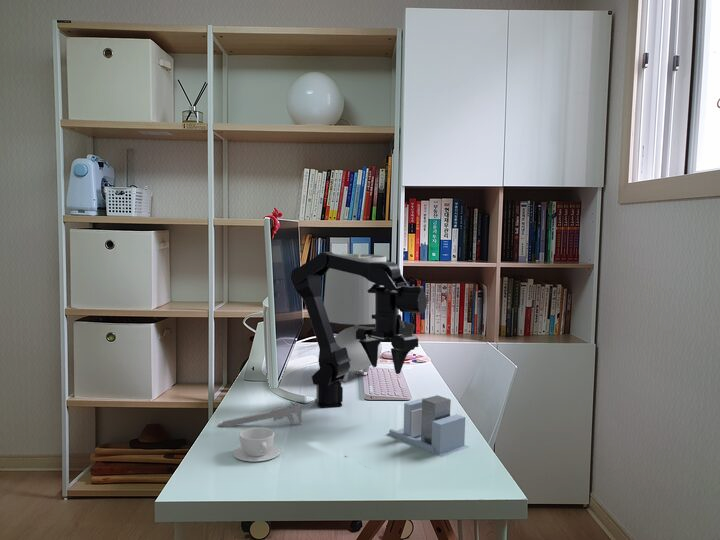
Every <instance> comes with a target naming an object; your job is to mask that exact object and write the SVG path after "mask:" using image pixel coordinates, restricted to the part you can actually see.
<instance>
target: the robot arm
mask: <svg viewBox="0 0 720 540" xmlns="http://www.w3.org/2000/svg"><path fill="white" fill-rule="evenodd" d="M337 254H338V253H334V252H332V251H323V252H320V253H318V254H317V255H316V256H314V257H313V258H311V259H310V260H308V261H307V262H305V263H303V264H302V265H300V266H297V267H294V268H293V269H292V271H291V273H290V276H289V278H290V281H291V284H292V287H293V288H294V291H295V292H296V293H297V294H298V295H299V297H301V299H302V300H303V302H304V305H305V308H306V310H307V314H308V316H309V320H310V324H311V326H312V329H313V332H314V335H315V338H316V342H317V345H318V350H319V352H318V353H319V354H318V358H317V359H318V360H317V361H318V367H319V369H318V370H317V371H316V372H315V373H314V374H313V375H312V376H311V380H312V384H313V385H316V392H315V393H316V394H315V395H316V397H315V399H314V401H315V404H316V405H317V406H318V408H332V407H334V408H335V407H342V406H343V396H344V395H343V390H344V389H343V386H342V382H341V381H342V380H343V379H344V377H345V374H346V373H347V372H348V371H349V368H350V363H349V362H350V361H351V360H350V358H349V356H348V353H347V349H346V347H344V348H340V347H339V345H338V344H337V343H336V340H335V335H334V332H333V328H332V326H331V322H329V319H328V316H327V313H326V310H325V307H324V300H323V298H322V294H321V293H322V292H321V291H322V285H323V284H322V283H323V282H322V277H323V276H325V275H326V272H327V271H328V270H329V268H332V269H336V270H340V271H344V272H348V273H352V274H356V275H360V276H363V277H365V278H366V279H367V280H369V281H371V282H373V283H375V284H373V286H372V287H371V288H370V289H369V290H368V291H367V292H368V293H375V314H373V315H372V319H375V324H374V326H365V328H358V330H357V331H356V339H359V343H361V345H362V346H363V348H364V350H365V352H366V354H367V356H368V358H369V360H370V362H371V364H372V365H371V366H372V368H376V367H377V366H378V360H379V359H378V346H379V344H380V342H381V343H382V341H383V342H388V343H390V344H391V346H392V347H391V348H390V351H391V357H392V362H393V367H394V371H395V374H396V375H399V374H401V371H402V368H403V366H404V363H405V361H406V358H407V356H408V355H409V353H411V351H413V350H415V349H416V348H418V347H419V338H418V337H417V335H413V334H414V330H415V327H416V325H415V324H413V323H410V322H407V321H404V320H402V315H401V314H398V310H399V312H401V313H409V314H423V315H424V313H425V312H426V310H427V306H428V298H427V295H426V292H425V291H424V286H423V285H418V286H410V285H409V283H408V282H407V281H406V279H405V277H404V276H403V275H402V273H401V269H400V266H399V264H397V263H396V262H394V261H386V262H368V261H364V260H359V259H355V258H351V257H346V256H342V255H337ZM380 285H381V286H384V287H381V286H380ZM377 359H378V360H377ZM349 372H350V371H349Z"/></svg>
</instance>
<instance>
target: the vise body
mask: <svg viewBox="0 0 720 540" xmlns="http://www.w3.org/2000/svg"><path fill="white" fill-rule="evenodd" d="M388 431H389V432H387V434H388V435H390V436H392V437H395V438H398V439H400V440H402V441H404V442H406V443H409V444H411V445H414V446H415V447H419V448H421V449H423V450H425V451H427V452H430V453H432V454H434V455H436V456H440V457H444V456H447V455H450V454H453V453H456V452H459V451H461V450H464V449H467V448H469V447H470V446H469V445H466V444H465V438H466V437H465V434H466V416H463V415H460V414H458V413H457V414H452V415H450V416H449V417H446V418H442V419H439V420H436V421H432V445H430V444H427V443H425V442H422V441H421V436H419V437H416V438H413V437H410V436H408V435H405V434H404V428H400V429H398V430H395V429H394V428H391V429H389V430H388Z"/></svg>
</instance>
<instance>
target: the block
mask: <svg viewBox="0 0 720 540" xmlns="http://www.w3.org/2000/svg"><path fill="white" fill-rule="evenodd" d="M424 398H425V397H424ZM451 400H452V399H450V398H447V397H443V396H441V395H437V394H436V395H434V396H428V397H426V398H425V399H422V421H421V441H422V442H425V443H427V444H430V445H432V421H436V420H439V419H442V418H446V417H449V416H451V402H452V401H451Z"/></svg>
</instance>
